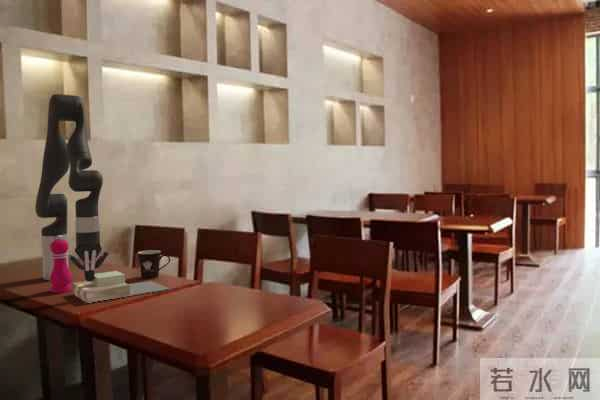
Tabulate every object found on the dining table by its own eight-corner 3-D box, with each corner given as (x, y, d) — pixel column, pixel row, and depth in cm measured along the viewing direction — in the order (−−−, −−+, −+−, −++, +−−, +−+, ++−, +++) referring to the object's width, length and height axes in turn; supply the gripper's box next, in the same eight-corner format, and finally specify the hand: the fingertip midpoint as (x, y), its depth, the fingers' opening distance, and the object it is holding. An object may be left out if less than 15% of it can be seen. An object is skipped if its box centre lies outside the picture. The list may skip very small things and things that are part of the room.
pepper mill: (64, 293, 188) (61, 236, 186) (45, 293, 189) (43, 236, 188) (76, 288, 195) (74, 233, 193) (58, 288, 196) (56, 233, 195)
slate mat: (114, 288, 195) (114, 286, 195) (151, 282, 204) (151, 280, 204) (130, 296, 183) (130, 295, 183) (169, 290, 191) (169, 288, 191)
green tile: (90, 283, 186) (90, 274, 186) (117, 279, 192) (116, 270, 192) (98, 287, 180) (98, 278, 180) (125, 283, 185) (124, 274, 185)
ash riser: (73, 294, 187) (73, 282, 187) (114, 288, 195) (113, 277, 195) (87, 303, 174) (86, 291, 174) (130, 296, 183) (129, 285, 182)
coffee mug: (133, 278, 211) (133, 253, 210) (148, 274, 219) (147, 249, 218) (158, 280, 207) (157, 254, 206) (172, 276, 214) (171, 251, 214)
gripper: (104, 227, 188) (106, 276, 189) (63, 230, 180) (65, 282, 181) (111, 229, 182) (113, 280, 183) (69, 232, 174) (71, 286, 175)
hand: (89, 281), depth 182 cm, fingers closed
